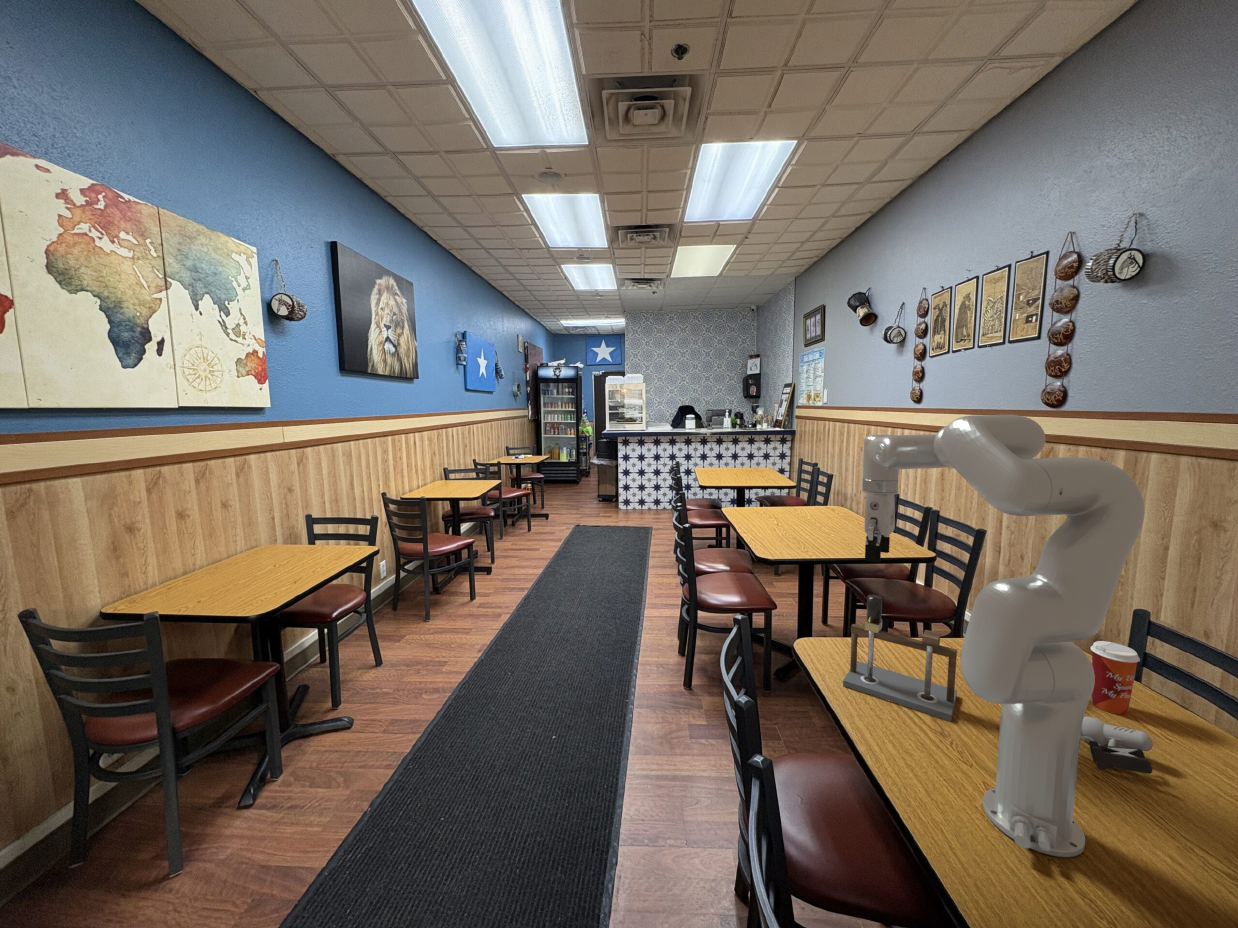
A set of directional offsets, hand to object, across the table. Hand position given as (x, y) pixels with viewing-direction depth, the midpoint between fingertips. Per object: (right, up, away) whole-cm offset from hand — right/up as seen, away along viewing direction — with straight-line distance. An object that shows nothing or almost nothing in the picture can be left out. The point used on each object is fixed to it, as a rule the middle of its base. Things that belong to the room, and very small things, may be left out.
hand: (877, 556), depth 116 cm
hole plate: (+5, -32, 0) cm, 33 cm away
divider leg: (0, -30, +3) cm, 30 cm away
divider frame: (+5, -31, -1) cm, 31 cm away
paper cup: (+48, -33, -8) cm, 59 cm away
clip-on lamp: (+30, -35, -21) cm, 50 cm away
